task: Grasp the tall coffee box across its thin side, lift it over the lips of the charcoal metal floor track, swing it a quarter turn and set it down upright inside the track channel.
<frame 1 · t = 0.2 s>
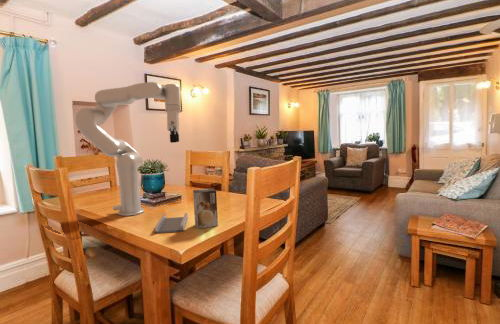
hand: (174, 142, 145), 37 cm above the table, tool pointing down, fingers open, 9 cm apart
floor track: (172, 225, 124), on the table
coffee box: (206, 225, 123), on the table
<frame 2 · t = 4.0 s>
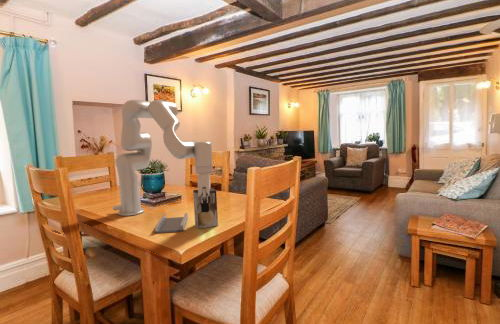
hand: (205, 209, 122), 7 cm above the table, tool pointing down, fingers closed on coffee box, 7 cm apart
coffee box: (206, 225, 123), on the table, touching gripper
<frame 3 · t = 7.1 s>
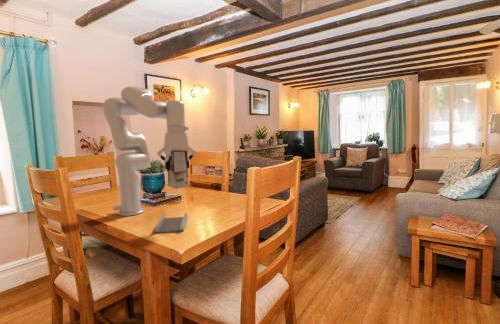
hand: (177, 170, 122), 25 cm above the table, tool pointing down, fingers closed on coffee box, 7 cm apart
coffee box: (178, 187, 123), point 17 cm above the table, touching gripper
when the fingers open (9 cm above the table, at t = 10.4 s): coffee box moves 1 cm, resting on floor track.
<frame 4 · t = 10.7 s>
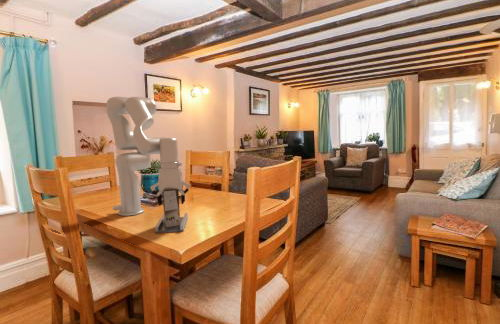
hand: (171, 204, 123), 10 cm above the table, tool pointing down, fingers open, 9 cm apart
coffee box: (172, 223, 124), point 1 cm above the table, touching floor track
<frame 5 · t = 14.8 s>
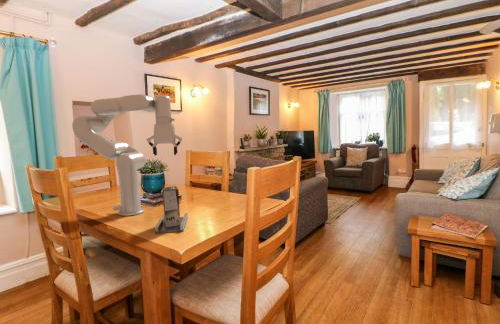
hand: (165, 155, 140), 30 cm above the table, tool pointing down, fingers open, 9 cm apart
nothing on the table moved.
at the end: coffee box inside the target area on the floor track (0.3 cm from its centre), point 0.6 cm above the floor track's base; coffee box tilted 0°; the gripper is holding nothing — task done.
